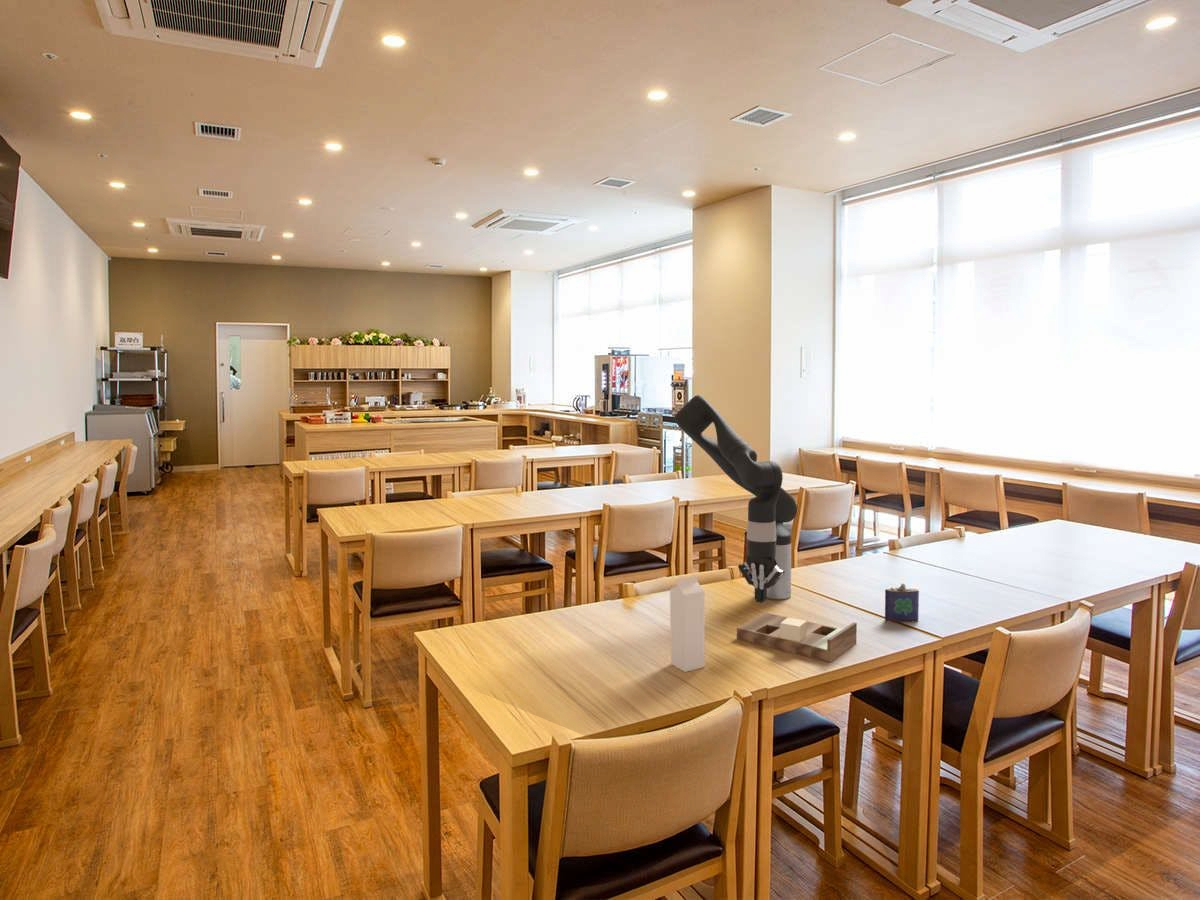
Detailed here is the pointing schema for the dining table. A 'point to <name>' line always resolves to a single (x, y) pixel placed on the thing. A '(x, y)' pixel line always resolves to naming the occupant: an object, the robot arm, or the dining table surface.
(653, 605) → the dining table surface
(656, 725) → the dining table surface
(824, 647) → the board
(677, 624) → the milk
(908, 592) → the flask
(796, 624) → the block
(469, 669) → the dining table surface
